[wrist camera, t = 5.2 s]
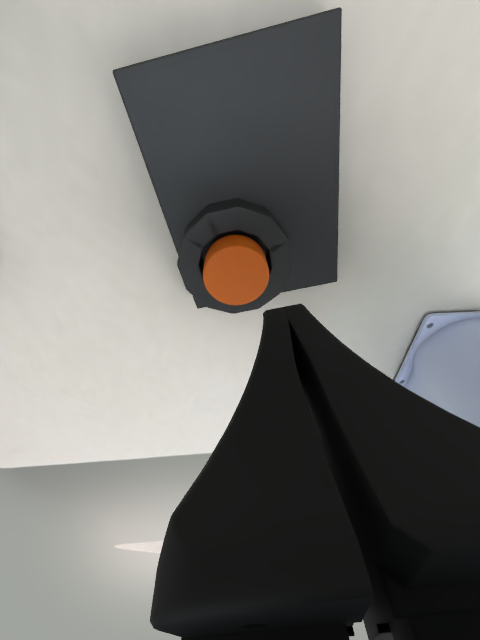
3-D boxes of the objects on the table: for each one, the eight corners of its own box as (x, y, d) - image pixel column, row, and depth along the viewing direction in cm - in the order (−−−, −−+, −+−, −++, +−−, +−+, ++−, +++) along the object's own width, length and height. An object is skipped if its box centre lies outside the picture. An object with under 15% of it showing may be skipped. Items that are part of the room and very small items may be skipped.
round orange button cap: (269, 284, 17) (273, 299, 16) (213, 295, 17) (212, 310, 16) (260, 227, 15) (264, 239, 14) (197, 241, 15) (194, 254, 14)
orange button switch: (331, 272, 20) (346, 295, 17) (198, 298, 21) (195, 324, 18) (331, 16, 12) (359, -11, 10) (121, 74, 13) (95, 63, 10)
